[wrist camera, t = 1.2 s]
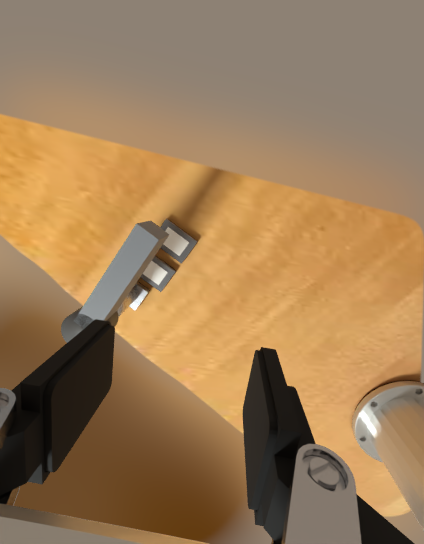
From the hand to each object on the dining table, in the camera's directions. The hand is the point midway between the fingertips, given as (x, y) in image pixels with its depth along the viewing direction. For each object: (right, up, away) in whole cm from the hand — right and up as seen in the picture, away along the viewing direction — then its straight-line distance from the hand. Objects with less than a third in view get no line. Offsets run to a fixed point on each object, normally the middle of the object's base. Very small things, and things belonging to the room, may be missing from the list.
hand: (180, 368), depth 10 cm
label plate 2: (-3, +7, +21) cm, 22 cm away
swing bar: (-7, +3, +14) cm, 16 cm away
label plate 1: (-6, +4, +22) cm, 23 cm away
